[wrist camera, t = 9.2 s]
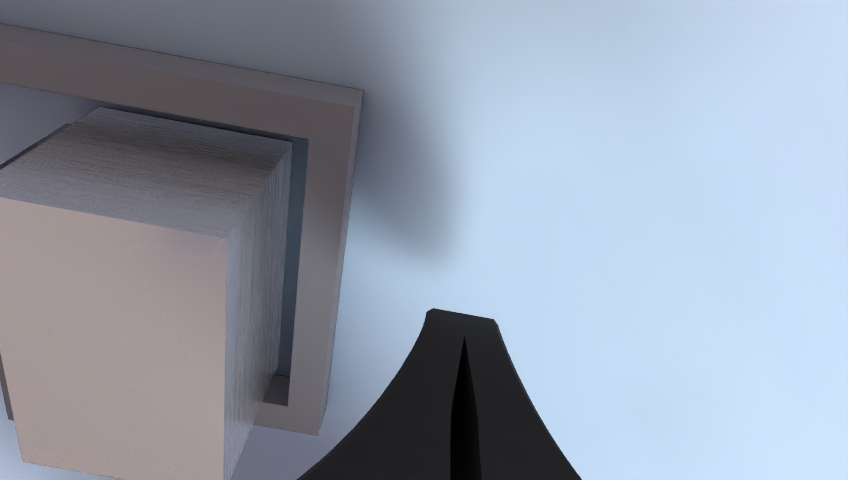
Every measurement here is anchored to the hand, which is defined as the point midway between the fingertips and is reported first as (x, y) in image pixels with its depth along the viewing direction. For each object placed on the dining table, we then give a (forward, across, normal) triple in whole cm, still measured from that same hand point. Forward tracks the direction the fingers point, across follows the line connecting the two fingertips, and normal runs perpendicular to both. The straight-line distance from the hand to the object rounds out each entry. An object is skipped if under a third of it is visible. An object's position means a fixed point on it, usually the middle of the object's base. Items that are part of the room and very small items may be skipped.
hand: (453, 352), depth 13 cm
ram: (+2, +6, 0) cm, 6 cm away
